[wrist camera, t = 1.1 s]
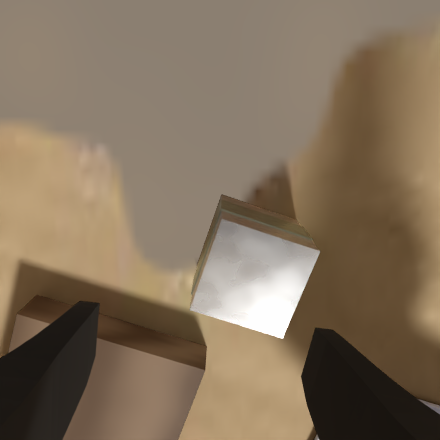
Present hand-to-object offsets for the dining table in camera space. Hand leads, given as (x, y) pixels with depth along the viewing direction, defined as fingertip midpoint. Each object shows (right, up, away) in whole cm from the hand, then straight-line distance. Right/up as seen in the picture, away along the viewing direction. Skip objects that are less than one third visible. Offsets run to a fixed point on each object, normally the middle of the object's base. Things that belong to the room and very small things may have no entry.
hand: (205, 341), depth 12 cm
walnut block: (-8, -7, +15) cm, 18 cm away
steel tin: (+2, +3, +12) cm, 12 cm away
